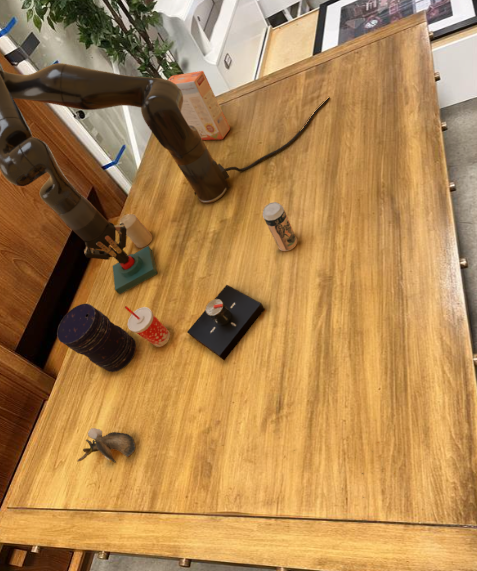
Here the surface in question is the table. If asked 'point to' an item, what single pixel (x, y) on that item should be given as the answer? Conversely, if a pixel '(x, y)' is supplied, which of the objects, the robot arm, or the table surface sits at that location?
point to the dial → (218, 312)
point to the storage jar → (96, 338)
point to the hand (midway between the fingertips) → (125, 261)
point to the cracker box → (201, 105)
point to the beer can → (279, 226)
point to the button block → (135, 270)
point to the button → (128, 263)
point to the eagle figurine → (109, 444)
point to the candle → (136, 230)
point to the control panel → (230, 334)
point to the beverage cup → (148, 326)
